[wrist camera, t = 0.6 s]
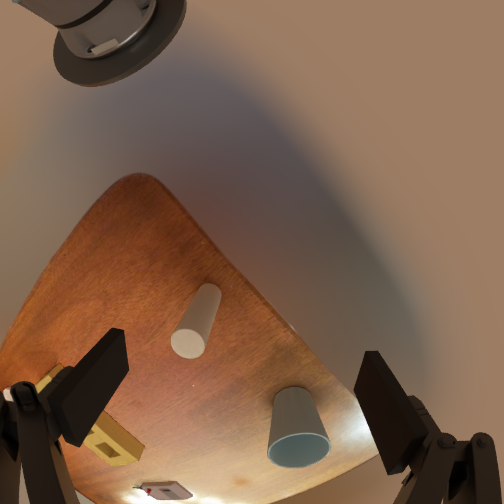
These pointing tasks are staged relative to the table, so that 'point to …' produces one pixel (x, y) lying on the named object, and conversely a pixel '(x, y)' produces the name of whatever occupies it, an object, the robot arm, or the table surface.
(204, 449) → the table surface
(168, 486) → the remote control
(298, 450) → the cup
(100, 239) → the table surface
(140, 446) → the block
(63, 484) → the robot arm
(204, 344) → the peg
